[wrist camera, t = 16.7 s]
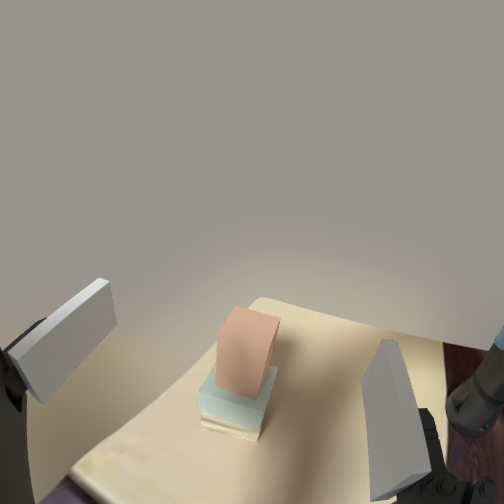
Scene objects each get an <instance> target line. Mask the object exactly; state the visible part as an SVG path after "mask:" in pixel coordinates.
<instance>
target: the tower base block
mask: <svg viewBox="0 0 504 504" xmlns="http://www.w3.org/2000/svg"><path fill="white" fill-rule="evenodd" d="M265 411H266V409H265ZM264 415H265V412H264ZM264 415H263V418H262V421H261V424H260V427H259V429H257V428H253V427H249V426H246V425H242V424H239V423H236V422H233V421H229V420H226V419H223V418H220V417H217V416H214V415H211V414H209V413H206V412H203V411H201V428H204V429H207V430H211V431H214V432H218V433H221V434H225V435H229V436H233V437H237V438H241V439H245V440H250V441H254V442H257V440H258V437H259V434H260V431H261V427H262V423H263V419H264Z"/></svg>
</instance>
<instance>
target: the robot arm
mask: <svg viewBox="0 0 504 504" xmlns="http://www.w3.org/2000/svg"><path fill="white" fill-rule="evenodd" d="M116 325H117V322H116V317H115V311H114V305H113V299H112V293H111V287H110V281H107V280H104V279H100V278H98V279H97V280H95V281H94V282H93V283H92V284H90V285H89V286H87V287H86V288H85V289H83V290H82V291H81V292H80V293H78V294H77V295H76V296H74V297H73V298H72V299H70V300H69V301H68V302H67V303H65V304H64V305H63V306H61V307H60V308H59V309H58V310H56V311H55V312H54V313H53V314H51V315H50V316H49V317H48V318H44V319H42V320H39V321H37V322H36V323H35V324H33V325H32V326H31V327H30V329H27V330H26V331H25V332H24V334H21V335H20V336H19V337H18V338H17V339H16V340H14V341H13V342H12V343H11V344H10V345H9V346H8V347H7V348H5V349H4V350H3V351H2V350H1V348H0V504H35V502H34V497H33V492H32V486H31V479H30V471H29V462H28V450H27V427H26V424H27V415H26V414H27V394H26V392H25V391H26V390H27V389H28V390H29V391H30V393H31V394H32V396H33V397H34V398H35V399H36V400H38V401H39V402H40V403H41V404H42V405H45V403H46V402H47V401H48V400H49V399H50V398H51V396H52V395H53V394H54V393H55V391H57V389H58V388H59V387H60V386H61V385H62V384H63V382H64V381H65V380H66V379H67V378H68V377H69V376H70V375H71V373H72V372H73V371H74V370H75V369H76V368H77V367H78V366H79V365H80V364H81V363H82V361H83V360H84V359H85V358H86V357H87V356H88V355H89V354H90V353H91V352H92V351H93V349H94V348H95V347H96V346H97V345H98V344H99V343H100V342H101V341H102V340H103V339H104V338H105V337H106V336H107V335H108V333H109V332H110V331H111V330H112V329H113V328H114V327H115V326H116ZM361 384H362V392H363V400H364V408H365V417H366V428H367V440H368V454H369V474H370V502H371V501H381V500H388V499H390V498H392V497H394V496H395V495H397V501H395V502H393V503H392V504H494V501H495V495H496V483H495V481H494V480H493V478H492V477H490V476H483V477H481V478H479V479H478V480H476V481H475V482H465V481H458V480H457V478H456V477H455V476H454V475H453V474H452V473H449V472H447V470H446V467H445V463H444V458H443V453H442V449H441V445H440V440H439V439H438V437H439V436H438V432H437V430H436V425H435V421H434V418H433V416H432V415H431V413H430V412H429V411H428V409H427V408H418V407H417V403H416V400H415V396H414V393H413V389H412V386H411V382H410V379H409V376H408V373H407V370H406V366H405V363H404V360H403V357H402V354H401V352H400V349H399V346H398V343H397V341H393V340H384V339H382V341H381V343H380V345H379V347H378V349H377V351H376V353H375V355H374V357H373V359H372V361H371V363H370V365H369V367H368V369H367V371H366V372H365V374H364V376H363V378H362V380H361ZM503 407H504V326H503V327H502V329H501V331H500V332H499V334H498V335H497V336H496V338H495V339H494V343H493V345H492V346H491V348H490V350H489V351H488V353H487V354H486V356H485V357H484V359H483V361H482V362H481V364H480V365H479V366H478V368H477V369H476V371H475V372H474V374H473V375H472V376H470V377H469V378H468V379H466V380H465V381H464V382H462V383H461V384H460V385H458V386H457V387H456V388H455V389H454V390H453V391H452V393H451V394H450V395H449V397H448V398H447V401H446V413H447V416H448V419H449V421H450V422H451V424H452V425H453V427H454V428H455V429H456V430H457V431H458V432H459V433H461V434H462V435H464V436H467V437H470V438H479V437H482V436H484V435H485V434H486V433H487V432H488V431H489V430H490V429H491V428H492V427H493V426H494V424H495V423H496V421H497V419H498V417H499V415H500V413H501V411H502V409H503Z"/></svg>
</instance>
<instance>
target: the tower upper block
mask: <svg viewBox="0 0 504 504" xmlns="http://www.w3.org/2000/svg"><path fill="white" fill-rule="evenodd" d="M277 370H278V366H274V365H269V369H268V372H267V374H266V377H265V380H264V382H263V385H262V387H261V390H260V392H259V395H258V397H257V399H254V398H251V397H247V396H244V395H241V394H238V393H235V392H232V391H229V390H226V389H223V388H220V387H217V386H215V374H216V363H215V365H214V367H213V368H212V370H211V372H210V373H209V375H208V377H207V379H206V380H205V382H204V384H203V385H202V387H201V389H200V390H199V405H200V411H203V412H206V413H209V414H211V415H214V416H217V417H220V418H223V419H226V420H229V421H233V422H236V423H239V424H242V425H246V426H249V427H253V428H257V429H259V427H260V424H261V421H262V418H263V415H264V412H265V409H266V406H267V403H268V400H269V397H270V394H271V391H272V388H273V385H274V381H275V377H276V374H277Z"/></svg>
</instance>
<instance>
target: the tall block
mask: <svg viewBox="0 0 504 504" xmlns="http://www.w3.org/2000/svg"><path fill="white" fill-rule="evenodd" d="M280 319H281V318H279V317H275V316H271V315H267V314H264V313H260V312H256V311H253V310H249V309H245V308H242V307H238V306H236V307H235V308H234V310H233V311H232V313H231V314H230V316H229V317H228V319H227V320H226V322H225V323H224V325H223V326H222V327H221V329H220V330H219V332H218V343H217V358H216V374H215V386H217V387H220V388H223V389H226V390H229V391H232V392H235V393H238V394H241V395H244V396H247V397H251V398H254V399H257V397H258V395H259V392H260V390H261V387H262V385H263V382H264V380H265V377H266V374H267V372H268V369H269V365H270V361H271V357H272V353H273V348H274V344H275V340H276V336H277V332H278V328H279V323H280Z"/></svg>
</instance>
